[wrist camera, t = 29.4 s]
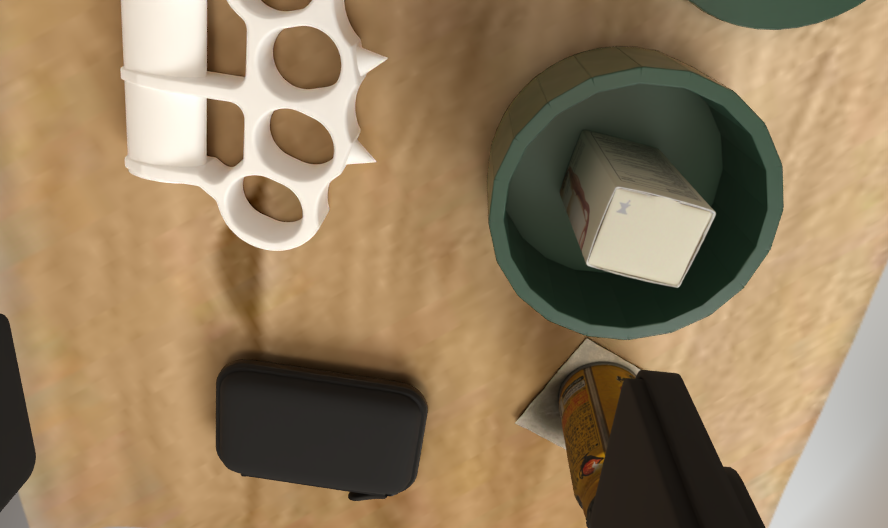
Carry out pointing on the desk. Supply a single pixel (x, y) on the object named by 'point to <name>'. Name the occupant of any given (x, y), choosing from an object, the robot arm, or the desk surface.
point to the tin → (651, 124)
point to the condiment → (581, 414)
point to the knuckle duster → (257, 94)
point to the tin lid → (774, 11)
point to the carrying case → (319, 428)
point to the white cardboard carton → (633, 210)
